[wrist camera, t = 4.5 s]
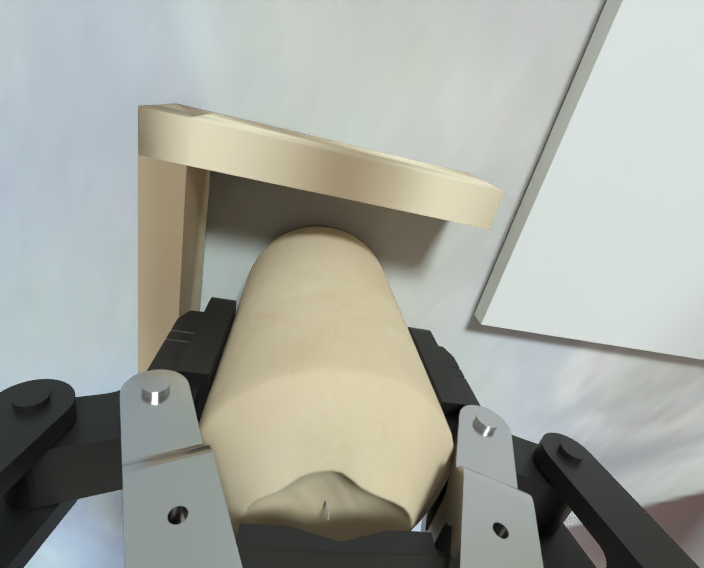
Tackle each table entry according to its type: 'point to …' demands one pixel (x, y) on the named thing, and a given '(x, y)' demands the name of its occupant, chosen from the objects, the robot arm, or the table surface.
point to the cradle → (268, 166)
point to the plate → (617, 194)
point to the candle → (324, 397)
